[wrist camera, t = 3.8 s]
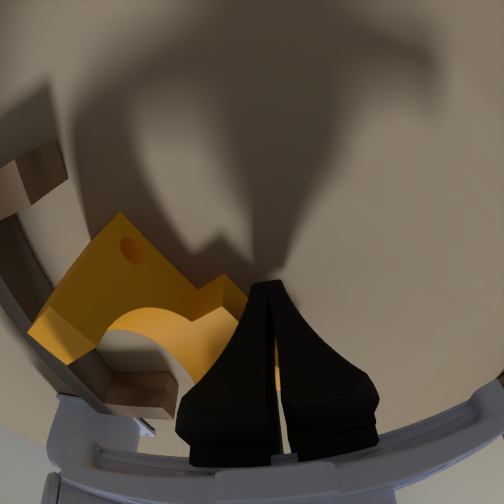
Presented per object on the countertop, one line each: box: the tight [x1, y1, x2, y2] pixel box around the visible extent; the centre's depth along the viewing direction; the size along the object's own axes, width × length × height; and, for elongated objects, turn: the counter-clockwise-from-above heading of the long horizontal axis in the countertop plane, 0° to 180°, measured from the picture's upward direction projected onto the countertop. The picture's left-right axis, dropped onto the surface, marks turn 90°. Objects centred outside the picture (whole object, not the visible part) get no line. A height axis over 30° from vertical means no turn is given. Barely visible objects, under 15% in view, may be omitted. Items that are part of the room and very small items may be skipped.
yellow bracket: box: [27, 211, 280, 391], centre depth 12 cm, size 12×4×6 cm, turn 35°
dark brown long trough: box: [0, 140, 179, 420], centre depth 14 cm, size 7×18×3 cm, turn 10°
